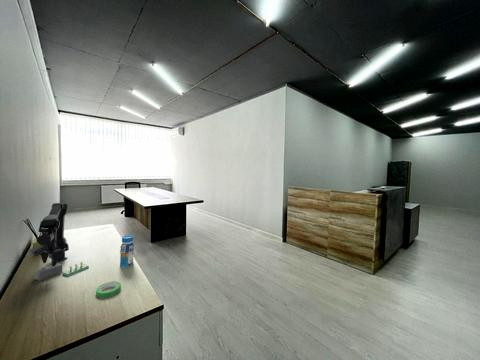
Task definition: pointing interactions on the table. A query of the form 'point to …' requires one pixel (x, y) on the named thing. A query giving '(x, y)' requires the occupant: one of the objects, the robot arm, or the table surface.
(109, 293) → the tape roll
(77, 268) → the green peg board
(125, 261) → the beverage bottle
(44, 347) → the table surface
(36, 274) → the block
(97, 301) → the table surface
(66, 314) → the table surface
